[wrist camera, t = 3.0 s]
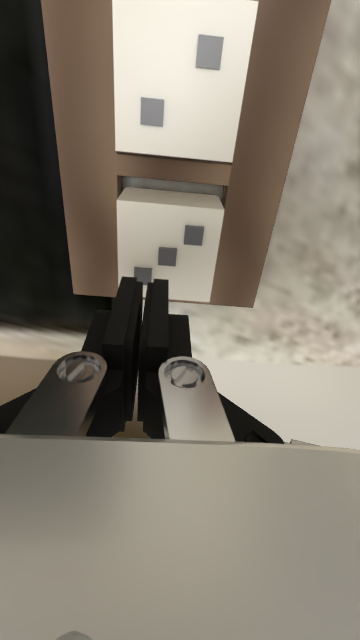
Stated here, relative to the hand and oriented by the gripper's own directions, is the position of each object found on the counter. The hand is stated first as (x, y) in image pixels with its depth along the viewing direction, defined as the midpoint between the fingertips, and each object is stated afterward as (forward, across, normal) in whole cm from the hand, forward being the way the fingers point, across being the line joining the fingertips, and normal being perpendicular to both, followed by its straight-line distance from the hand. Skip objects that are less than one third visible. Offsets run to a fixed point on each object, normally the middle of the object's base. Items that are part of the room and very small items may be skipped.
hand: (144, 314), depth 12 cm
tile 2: (+8, -1, -7) cm, 11 cm away
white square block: (+8, -1, 0) cm, 8 cm away
